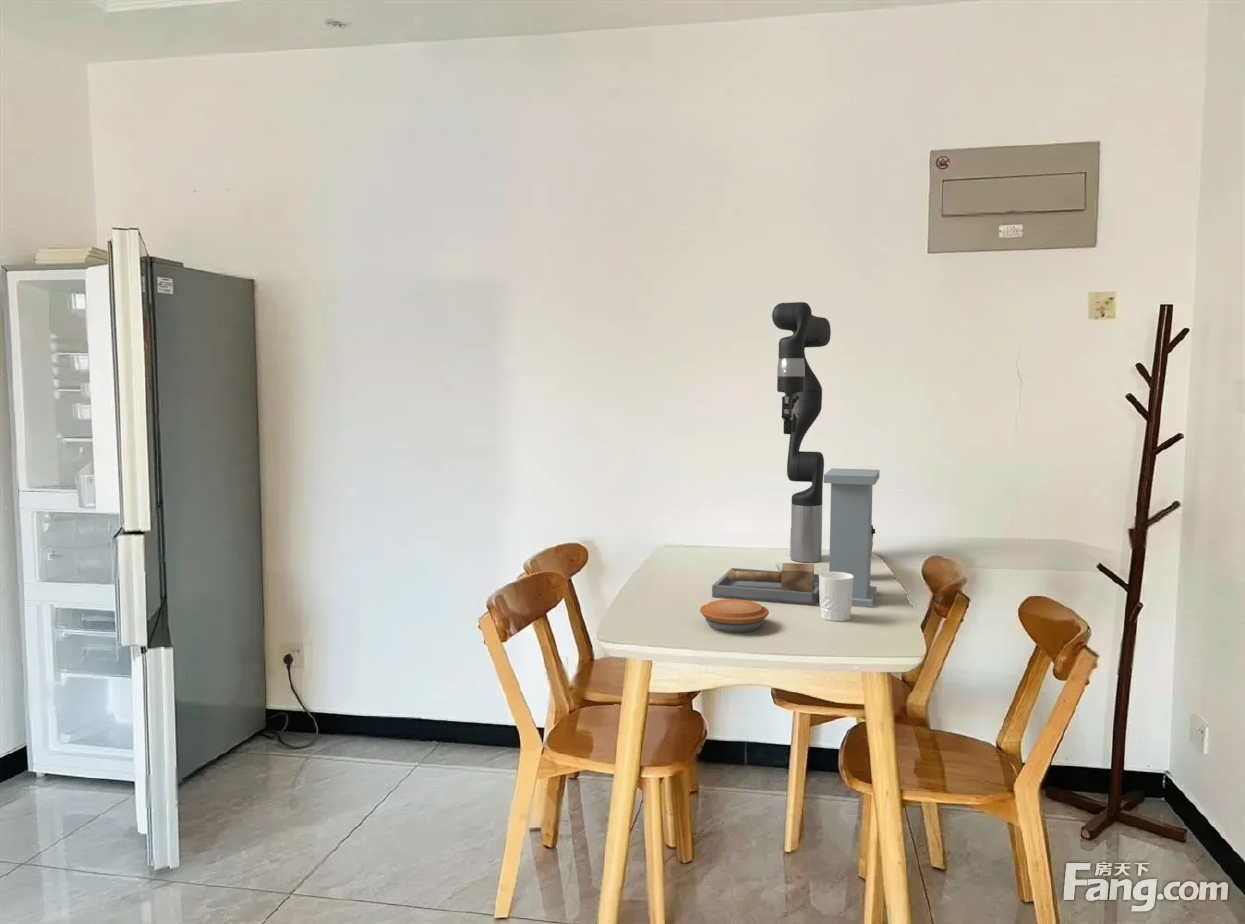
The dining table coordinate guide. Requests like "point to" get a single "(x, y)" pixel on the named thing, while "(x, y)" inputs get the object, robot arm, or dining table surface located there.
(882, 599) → the dining table surface
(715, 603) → the pie
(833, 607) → the white cup
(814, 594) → the tray
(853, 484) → the pedestal
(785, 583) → the mallet
